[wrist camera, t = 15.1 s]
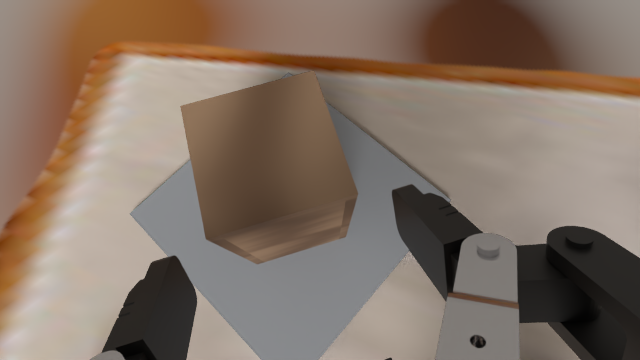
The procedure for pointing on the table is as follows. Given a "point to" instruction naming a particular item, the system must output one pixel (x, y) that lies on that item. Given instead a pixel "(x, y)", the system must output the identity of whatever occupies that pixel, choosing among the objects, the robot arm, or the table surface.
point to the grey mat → (292, 256)
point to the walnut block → (269, 169)
